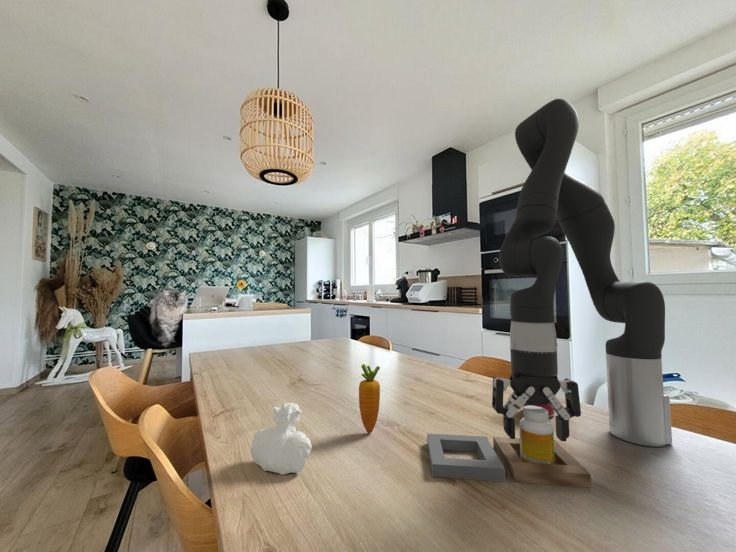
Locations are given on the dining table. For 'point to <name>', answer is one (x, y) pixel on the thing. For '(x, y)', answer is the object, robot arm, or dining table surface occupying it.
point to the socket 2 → (541, 466)
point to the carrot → (369, 398)
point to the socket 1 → (464, 468)
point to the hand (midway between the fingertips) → (535, 438)
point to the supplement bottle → (536, 436)
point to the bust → (282, 443)
